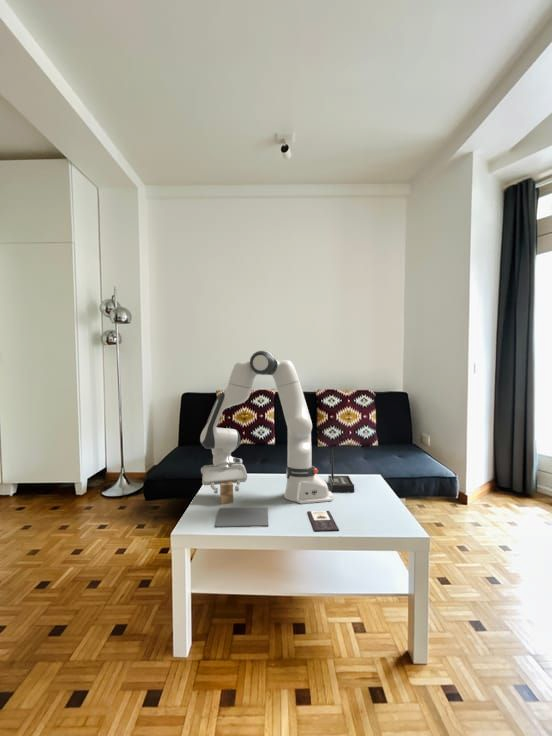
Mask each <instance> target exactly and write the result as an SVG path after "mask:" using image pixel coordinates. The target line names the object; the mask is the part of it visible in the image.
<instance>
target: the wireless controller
mask: <svg viewBox="0 0 552 736" xmlns="http://www.w3.org/2000/svg"><path fill="white" fill-rule="evenodd" d="M330 467H331V471H330V474H331V475H328V476H327V477H328V479H327V480H328V481H327V482H329V483H328V484H329V487H331V488H330V489H331V493H347V492H354V493H355V484H354V483H353V481H352V480H351V478H350V476H349V475H334V473H335V472H334V448H331V466H330Z"/></svg>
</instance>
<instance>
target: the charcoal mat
mask: <svg viewBox="0 0 552 736" xmlns="http://www.w3.org/2000/svg"><path fill="white" fill-rule="evenodd" d="M251 526H261V527H269V512H268V507H267V506H266V507H263V506H262V507H260V506H259V507H220V508H219V510H218V513H217V517H216V522H215V524H214V528H250V527H251Z"/></svg>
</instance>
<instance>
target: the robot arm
mask: <svg viewBox="0 0 552 736" xmlns="http://www.w3.org/2000/svg"><path fill="white" fill-rule="evenodd" d="M258 375H261V376H266V375H267V376H272V378H273V380H274V383H275V387H276V391H277V394H278V397H279V401H280V405H281V407H282V411H283V412H282V413H283V416H284V420H285V424H286V426H287V427H286V428H287V465H286V475H285V476H286V484H285V485H286V486H285V491H284V495H283V497H284V498H285V499H286V500H288V501H291V502H296V503H298V504H301V505H302V504H312V503H313V504H315V503H325V502H332V501H333V500H334V494H333V492H332V491H330V490H329V487H328V483H327V482H326V481H325V480H324V479H323V478H322V477H321V476H319V475H318V473H319V469H318V468H316V467H315V466H314V465H313V463H312V430H313V423H312V419H311V415H310V412H309V411H310V410H309V409H308V405H307V402H306V398H305V394H304V391H303V388H302V385H301V384H302V383H301V382H300V378H299V374H298V372H297V369H296V367H295V366H294V363H293V362H292V361H291V360H288V359H281V360H277V359H276V357H275V356H274V355H273V354H272V353H271V352H270V351H267V350H257V351H256V352H254V353H253V354H252V355H251V356H250V358H249V361H243V360H242V361H238V362H236V363H235V364H234V366H233V368H232V371H231V373H230V375H229V376H230V377H229V380H228V384H227V386H226V388H225V390H224V391H223V392H221V393H219V394H218V396H217V397H216V399H215V401H214V404H213V406H212V409H211V411H210V414H209V416H208V417H207V421H206V423H205V425H204V427H203V428H202V431H201V433H200V436H199V437H200V438H199V442H200V444H201V445H202V446H203V447H204V448H205V449H206V450H207V449H208V450H211V453H212V457H213V458H212V463H213V464H209V465H208V464H207V465H203V466H202V467H201V468H200V472H201V475H202V481H201V482H202V485H203V486H210V487H211V489H212V490H213V493H214V494H218V492H219V490H218V487H216V485H220V483H225V482H232V484H236V486H234V490H235V491H234V492H239V491H240V485H241V483H245V482H247V480H248V473H247V470H246V467H245V465H244V464H243V459H242V458H238V457H234V456H232V452H234V451H235V450H237V448H239V446H240V445H241V435H240V432H239V431H238V430H237V429H235V428H224V427H218V423H219V422H220V418H221V416H222V415H223V412H224V411H225V410H226V409H227V408H230V407H232V406H233V407H234V406H238V405H241V404H243V403H245V402H246V401H247V400H249V398H250V396H251V392H252V389H253V384H254V380H255V378H256V377H257V376H258Z"/></svg>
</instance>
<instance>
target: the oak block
mask: <svg viewBox="0 0 552 736" xmlns="http://www.w3.org/2000/svg"><path fill="white" fill-rule="evenodd" d="M219 485H220V486H219V487H220V489H219V493H220V494H219V495H220V496H219V498H220V503H221V504H223V505H224V504H231V503H232V504H233V503H234V483H232V482H225V483H220V484H219Z"/></svg>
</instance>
